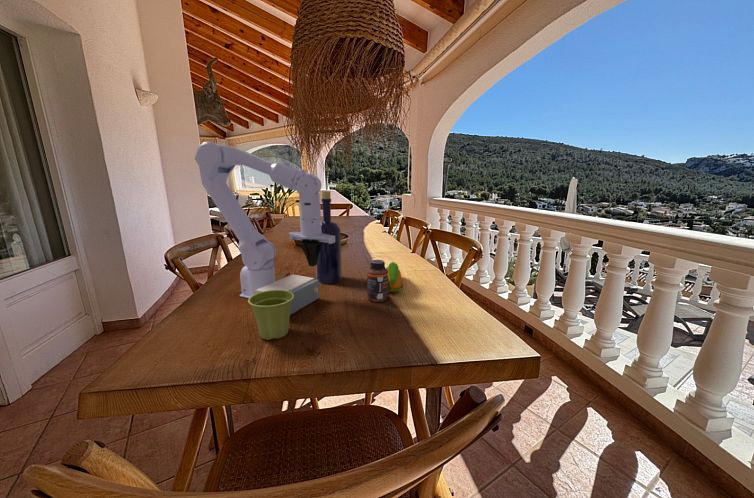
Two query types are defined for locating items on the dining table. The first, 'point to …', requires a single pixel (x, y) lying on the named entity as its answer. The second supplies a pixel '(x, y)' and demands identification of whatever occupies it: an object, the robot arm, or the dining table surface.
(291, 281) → the cabinet
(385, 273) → the supplement bottle
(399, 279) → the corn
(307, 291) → the door
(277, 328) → the plant pot
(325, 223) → the bottle
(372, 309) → the dining table surface
